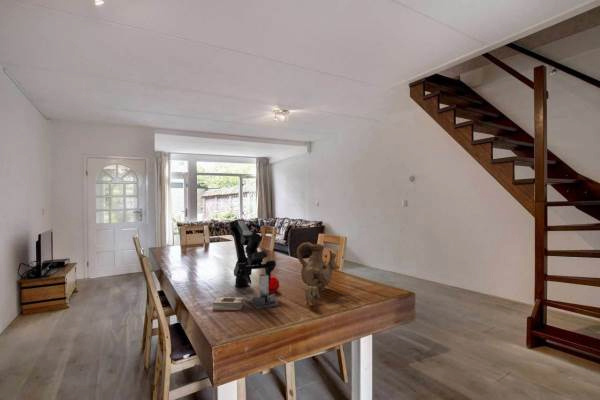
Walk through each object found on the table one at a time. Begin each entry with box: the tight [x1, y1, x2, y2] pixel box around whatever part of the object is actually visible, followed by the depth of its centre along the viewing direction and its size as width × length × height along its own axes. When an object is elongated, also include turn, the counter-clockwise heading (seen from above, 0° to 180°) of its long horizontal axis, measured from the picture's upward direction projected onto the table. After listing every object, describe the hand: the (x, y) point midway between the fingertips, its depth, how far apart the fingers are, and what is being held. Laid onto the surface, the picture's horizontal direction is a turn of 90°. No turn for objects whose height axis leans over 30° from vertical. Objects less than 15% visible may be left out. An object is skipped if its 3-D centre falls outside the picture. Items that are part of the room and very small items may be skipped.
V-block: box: [249, 293, 279, 310], centre depth 138 cm, size 10×11×4 cm
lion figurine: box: [304, 285, 321, 306], centre depth 140 cm, size 15×5×9 cm, turn 167°
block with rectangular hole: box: [212, 296, 245, 311], centre depth 134 cm, size 8×12×3 cm, turn 90°
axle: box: [259, 273, 270, 303], centre depth 137 cm, size 4×4×12 cm
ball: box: [269, 275, 280, 294], centre depth 158 cm, size 8×8×8 cm
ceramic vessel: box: [296, 241, 340, 292], centre depth 161 cm, size 18×19×25 cm
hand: (260, 282), depth 142 cm, fingers open, 9 cm apart
